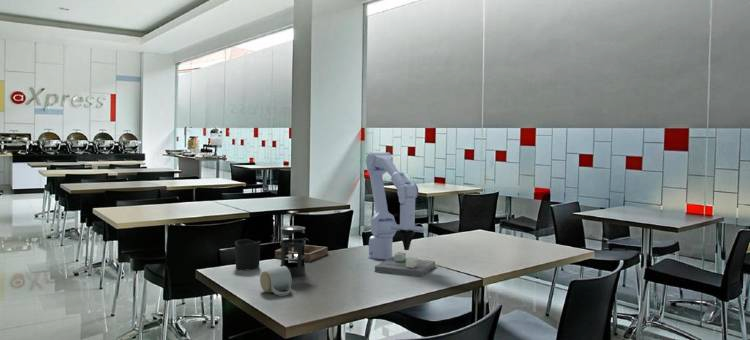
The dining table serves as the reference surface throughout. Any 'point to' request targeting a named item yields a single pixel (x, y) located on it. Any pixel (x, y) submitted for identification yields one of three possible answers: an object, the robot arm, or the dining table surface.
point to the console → (404, 267)
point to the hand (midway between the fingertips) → (406, 249)
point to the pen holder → (247, 254)
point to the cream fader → (411, 262)
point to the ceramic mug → (276, 280)
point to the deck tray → (311, 254)
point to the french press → (294, 267)
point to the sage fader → (400, 256)
